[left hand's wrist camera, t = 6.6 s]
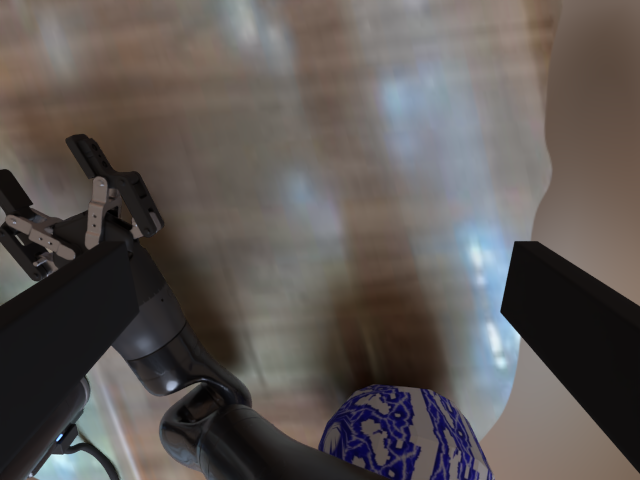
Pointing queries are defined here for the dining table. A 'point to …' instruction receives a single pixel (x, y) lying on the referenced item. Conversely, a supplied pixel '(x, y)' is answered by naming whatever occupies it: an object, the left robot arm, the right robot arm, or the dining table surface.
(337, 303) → the dining table surface
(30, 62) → the dining table surface
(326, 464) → the right robot arm
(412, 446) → the ornament
